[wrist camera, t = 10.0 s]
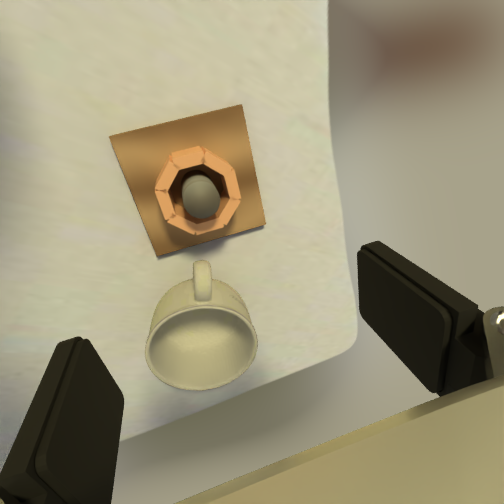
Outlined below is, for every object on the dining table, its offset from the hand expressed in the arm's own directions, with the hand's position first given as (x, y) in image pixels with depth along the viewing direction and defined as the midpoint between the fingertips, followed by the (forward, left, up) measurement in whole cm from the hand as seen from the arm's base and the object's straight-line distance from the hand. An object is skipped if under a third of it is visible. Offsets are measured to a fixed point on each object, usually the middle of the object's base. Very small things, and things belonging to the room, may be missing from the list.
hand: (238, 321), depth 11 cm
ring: (0, 0, -22) cm, 22 cm away
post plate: (0, 0, -23) cm, 23 cm away
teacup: (+13, -3, -23) cm, 27 cm away
